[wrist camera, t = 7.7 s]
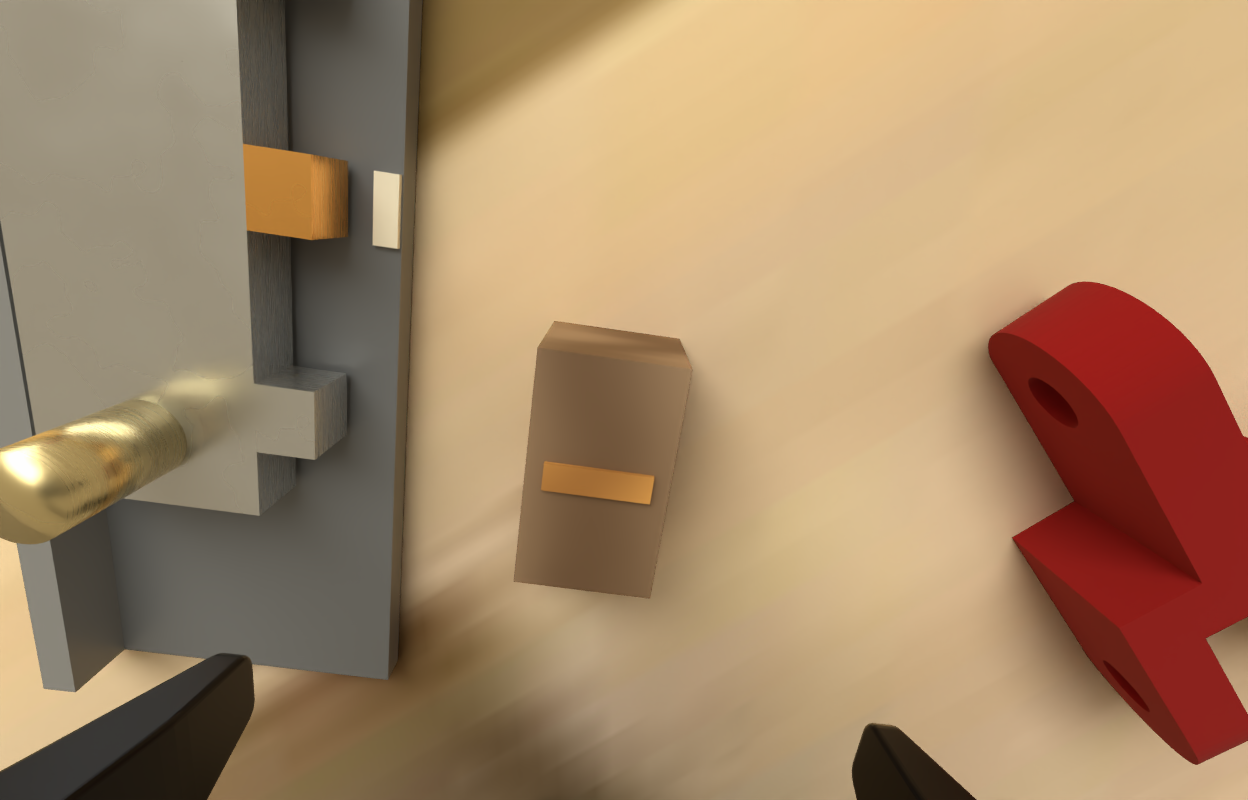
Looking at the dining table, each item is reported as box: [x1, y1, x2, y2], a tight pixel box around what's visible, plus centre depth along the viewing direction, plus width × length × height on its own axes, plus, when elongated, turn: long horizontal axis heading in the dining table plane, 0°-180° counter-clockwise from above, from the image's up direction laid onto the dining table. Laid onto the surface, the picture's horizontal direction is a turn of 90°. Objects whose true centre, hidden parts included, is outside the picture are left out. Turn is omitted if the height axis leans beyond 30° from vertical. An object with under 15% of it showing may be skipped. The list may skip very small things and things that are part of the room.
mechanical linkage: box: [988, 282, 1248, 765], centre depth 18 cm, size 16×7×5 cm, turn 37°
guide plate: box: [0, 0, 423, 692], centre depth 17 cm, size 12×29×3 cm, turn 172°
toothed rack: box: [0, 0, 348, 545], centre depth 13 cm, size 8×18×6 cm, turn 172°
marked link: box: [514, 321, 692, 598], centre depth 18 cm, size 4×7×4 cm, turn 172°
